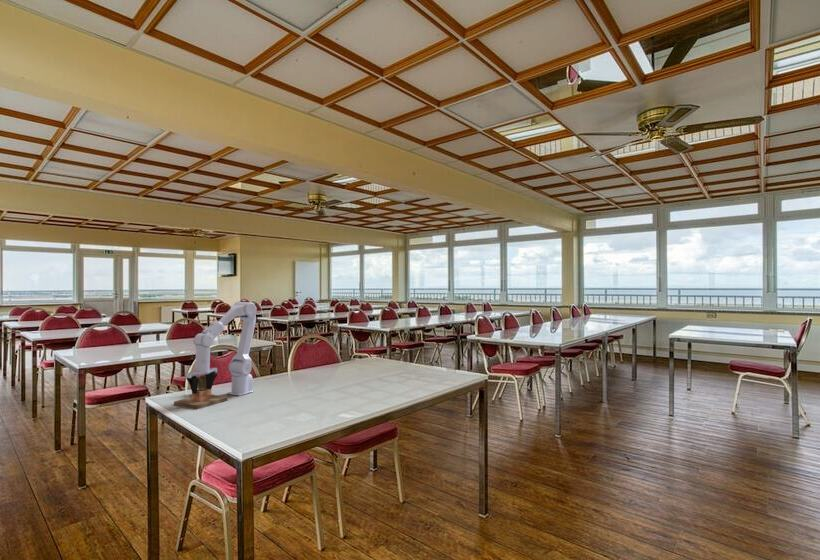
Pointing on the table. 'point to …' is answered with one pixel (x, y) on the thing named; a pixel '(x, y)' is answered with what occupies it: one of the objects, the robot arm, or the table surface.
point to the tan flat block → (200, 404)
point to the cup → (202, 382)
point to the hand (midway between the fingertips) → (201, 391)
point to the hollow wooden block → (202, 395)
